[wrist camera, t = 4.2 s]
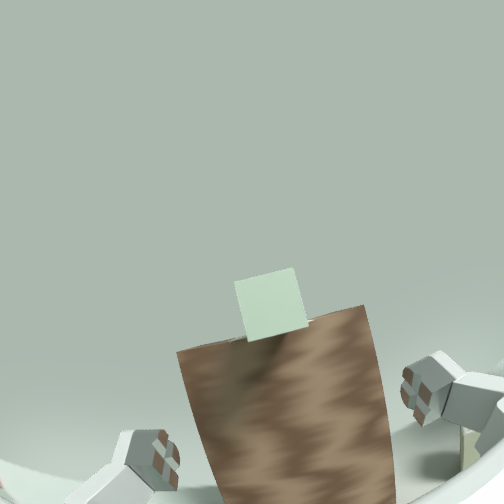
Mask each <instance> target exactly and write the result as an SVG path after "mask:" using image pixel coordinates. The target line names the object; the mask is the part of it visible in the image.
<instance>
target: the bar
mask: <svg viewBox="0 0 504 504" xmlns="http://www.w3.org/2000/svg"><path fill="white" fill-rule="evenodd" d="M234 285H235V290H236V294H237V298H238V302H239V306H240V310H241V314H242V319H243V323H244V327H245V331H246V335H247V339H248V342H250V341H254V340H259V339H263V338H267V337H271V336H275V335H279V334H282V333H286V332H290V331H294V330H297V329H301V328H304V327H308V326H309V324H308V320H307V316H306V313H305V309H304V305H303V301H302V298H301V294H300V290H299V287H298V283H297V279H296V276H295V273H294V269H293V267H292V268H288V269H284V270H280V271H277V272H273V273H268V274H264V275H261V276H256V277H252V278H248V279H244V280H240V281H236V282H234Z"/></svg>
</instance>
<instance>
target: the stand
mask: <svg viewBox="0 0 504 504" xmlns="http://www.w3.org/2000/svg"><path fill="white" fill-rule="evenodd" d="M308 324H309V326H308V327H304V328H301V329H297V330H294V331H290V332H286V333H282V334H279V335H275V336H271V337H267V338H263V339H259V340H254V341H250V342H248V339H247V335H246V336H242V337H238V338H233V339H229V340H224V341H220V342H215V343H210V344H205V345H200V346H197V347H193V348H190V349H186V350H182V351H179V352H177V357H178V361H179V365H180V369H181V373H182V377H183V380H184V384H185V388H186V392H187V395H188V399H189V402H190V406H191V409H192V412H193V416H194V419H195V422H196V425H197V429H198V432H199V435H200V438H201V441H202V444H203V447H204V450H205V453H206V455H207V458H208V461H209V464H210V467H211V469H212V472H213V475H214V477H215V480H216V483H217V485H218V488H219V490H220V493H221V495H222V497H223V500H224V502H225V504H396V489H395V475H394V463H393V453H392V444H391V436H390V429H389V422H388V415H387V409H386V403H385V397H384V392H383V386H382V381H381V376H380V371H379V366H378V361H377V356H376V352H375V348H374V343H373V339H372V335H371V330H370V326H369V322H368V319H367V315H366V311H365V307H364V305H361V306H357V307H353V308H348V309H345V310H341V311H336V312H333V313H329V314H326V315H322V316H319V317H315V318H312V319H308Z"/></svg>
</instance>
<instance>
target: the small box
mask: <svg viewBox="0 0 504 504" xmlns="http://www.w3.org/2000/svg"><path fill="white" fill-rule="evenodd" d="M480 434H481V433H478V432H476V431H473V430H470V429H468V428H465V427H462V426H460V472H461V471H462V470H464V469H465V468H467V467H468V466H469V465H471V464H472V463H473V462H475V461H476V460H477V459H478V458H480V457H481V455H480V454H479V452H478V451H477V450H476V449H475V447H474V446H475V443H476V441H477V439H478V438H479V436H480Z"/></svg>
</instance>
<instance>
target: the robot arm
mask: <svg viewBox="0 0 504 504" xmlns="http://www.w3.org/2000/svg"><path fill="white" fill-rule="evenodd" d="M402 376H403V378H404V379H405V380H404V382H403V383H402V384H401V391H400V392H401V397H402V400H403V402H404V404H405V405H406V407H407V408H410V409H412V410H414V414H413V416H414V417H415V419H416V420H417V421H418V423H419V424H420V425H421V427H424V426H426V425H428V424H430V423H432V422H433V421H435V420H437V419H439V418H440V417H442V419H445V420H447V421H450V422H452V423H455V424H457V425H460V426H462V427H465V428H468V429H470V430H473V431H476V432H478V433H481V434H480V436H479V438H478V439H477V441H476V443H475V446H474V447H475V449H476V450H477V451H478V452H479V454H480V455H481V457H480V458H478V459H477V460H476V461H475V462H473V463H472V464H471V465H469V466H468V467H467V468H465V469H464V470H462V471H461V472H460V473H458V474H457V475H455V476H454V477H452V478H451V479H449V480H448V481H446V482H445V483H443V484H441V485H440V486H438V487H437V488H435V489H433V490H432V491H430V492H428V493H426V494H425V495H423V496H421V497H419V498H417V499H416V500H414V501H412V502H410V503H408V504H504V377H500V376H494V375H488V374H482V373H477V372H472V371H469V372H467V373H466V372H465V371H464V370H463V369H462V368H461V367H460V366H458V364H456V363H455V362H454V361H453V360H452V359H451V358H449V357H448V356H447V355H446V354H445V353H444V352H442V351H440V350H439V351H437V352H435V353H433V354H431V355H429V356H428V357H425V358H423V359H421V360H419V361H417V362H415V363H413V364H411V365H409V366H407V367H405V368H404V370H403V375H402ZM179 466H180V457H179V452H178V449H177V447H176V446H175V444H174V443H173V442H171V441H169V440H168V434H167V433H166V432H165V430H161V429H160V430H123V431H122V432H121V433H120V436H119V439H118V442H117V445H116V448H115V451H114V454H113V457H112V461H111V464H106V465H105V466H104V467H103V468H102V469H100V470H99V471H98V472H97V473H96V474H94V475H93V476H92V477H91V478H89V479H88V480H87V481H86V482H85V483H83V484H82V485H81V486H80V487H78V488H77V489H76V490H75V491H73V492H72V493H71V494H70V495H68V496H67V497H66V500H65V503H64V504H146V503H147V502H148V501H149V499H150V498H151V497H152V495H153V494H154V493H155V492H154V491H177V487H178V475H177V474H176V472H175V471H176V469H177V468H178V467H179ZM0 504H14V503H12V502H10V501H9V500H7V499H5V498H3V497H1V496H0Z"/></svg>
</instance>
